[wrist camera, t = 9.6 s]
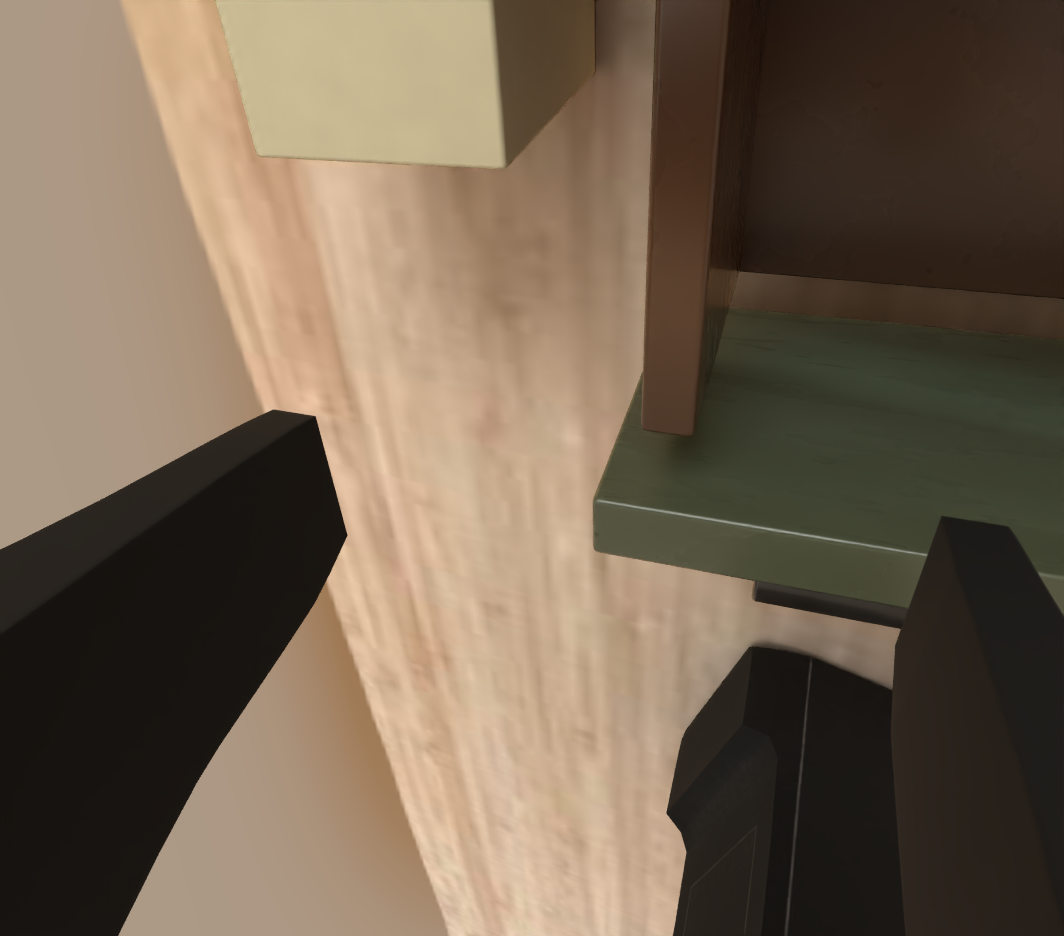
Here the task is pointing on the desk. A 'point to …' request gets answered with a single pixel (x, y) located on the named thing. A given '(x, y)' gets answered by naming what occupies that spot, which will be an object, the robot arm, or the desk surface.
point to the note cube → (406, 76)
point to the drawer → (855, 255)
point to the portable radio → (789, 805)
